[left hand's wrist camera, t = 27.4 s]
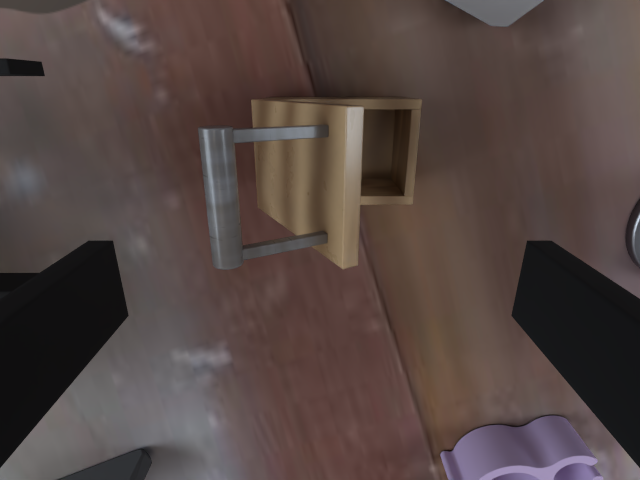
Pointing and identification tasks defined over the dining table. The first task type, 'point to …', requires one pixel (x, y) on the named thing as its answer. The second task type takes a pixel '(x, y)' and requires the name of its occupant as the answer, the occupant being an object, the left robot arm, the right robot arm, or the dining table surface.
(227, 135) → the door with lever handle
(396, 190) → the chest
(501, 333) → the dining table surface
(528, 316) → the left robot arm
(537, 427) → the purple wavy organizer
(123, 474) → the rounded dark grey slab
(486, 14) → the electronic device
